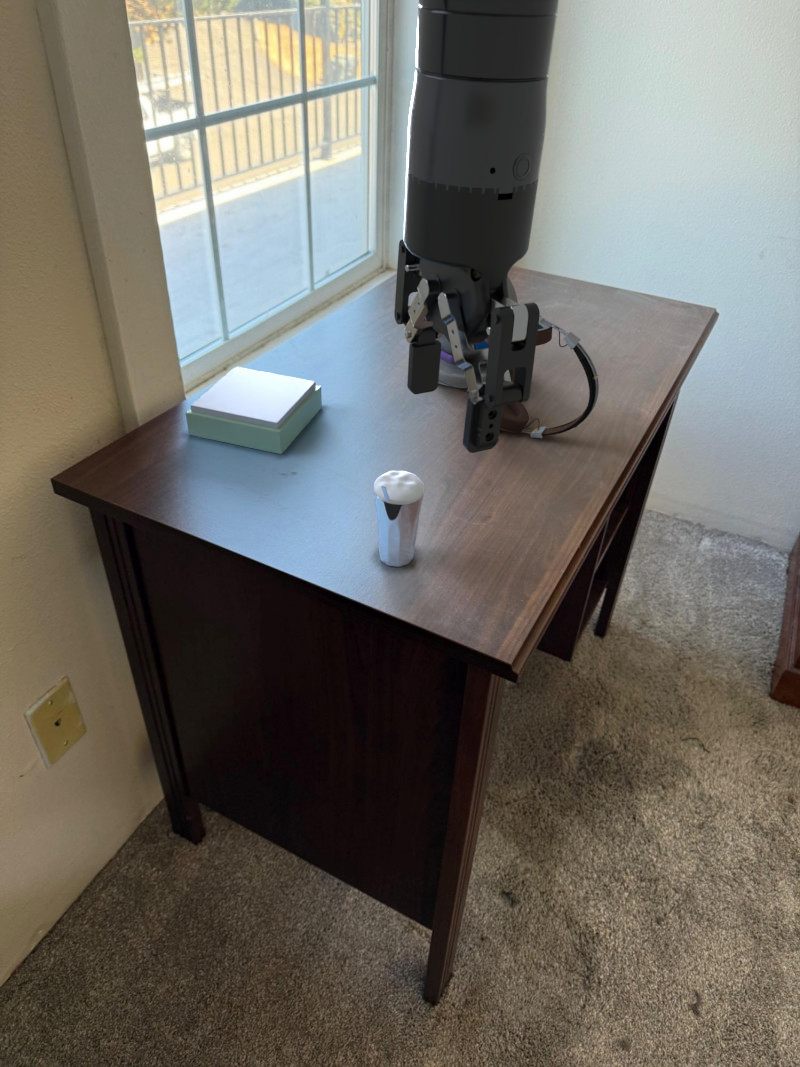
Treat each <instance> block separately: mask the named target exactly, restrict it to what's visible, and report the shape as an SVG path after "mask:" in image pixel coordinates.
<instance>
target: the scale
mask: <svg viewBox="0 0 800 1067" xmlns="http://www.w3.org/2000/svg"><path fill="white" fill-rule="evenodd" d="M322 400H323V398H322V386H321V385H317V383H316V380H311V379H305V378H301V377H300V378H299V377H295V376H289V375H284V374H279V373H273V372H267V371H262V370H257V369H252V368H247V367H242V366H234V367H233V368H231V370H230V371H228V372H227V373H226V374H225V375H224V376H222V377H221V378H219V380H218V381H217V382H216V383H214V384H213V385H212V386H211V387H210V388H209V389H207V391H205V392H204V393H203V394H201V395H200V396H199V397H198V398H197V399H196V400H195V401H193V403H191V404H190V408H189V409H188V410H186V411H185V418H186V424H187V433H188V435H189V436H194V437H198V438H203V439H207V440H211V441H212V440H213V441H217V442H221V443H225V444H226V443H227V444H230V445H237V446H241V447H245V448H249V449H255V450H257V451H258V450H259V451H263V452H267V453H268V452H269V453H272V454H277V455H282V454H283V453H284V452H285V451H286V450H287V448H288V447H289V446H290V445H291V444H292V443H293V441H294V440H295V439H296V438H297V437H298V436H299V435H300V433H301V432H302V431H303V430H304V429H305V427H306V426H307V425H308V424H309V423H310V422H311V421H312V419H313V418H314V417H315V416H316V415H317V414H318V413H319V411H320V410H321V409H322V408H323V403H322Z"/></svg>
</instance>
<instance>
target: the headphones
mask: <svg viewBox="0 0 800 1067" xmlns="http://www.w3.org/2000/svg"><path fill="white" fill-rule="evenodd" d="M553 329H554V330H556V331H557V332H558V345H559V347H560V348H565V347H567V346H568V347H569V349H570V350H571V351H572V350H573V352H574V353H575V355H576V357H577V358H578V361H579V362H580V365H581V366H582V369H583V371H584V372H585V377H586V379H587V383H588V394H589V395H588V402H587V405H586V407H585V409H584V411H583V412H582V413H581V415H579V416H578V417H576V418H575V419H573V420H571V421H569V422H566V423H564V424H561V425H557V426H553V427H549V428H548V426H544V425H543V426H541V424H540V419H539V418H534V419H533V420H532V421H531V422H529V421H530V420H531V419H530V418H531V417H530V413H529V412H528V409H527V408H526V406H525V405H524V403H523V402H521V403H514V404H509V405H503V411H502V418H501V425H500V431H504V432H509V433H520V432H521V433H525V434H529V435H530V438H533V439H534V438H536V439H543V437H547V436H555V435H558V434H559V435H560V434H563V433H566V432H569V431H571V430H573V429H577V428H578V426H579V425H580V424H582V423H583V422H584V421H585V420H586V419H587V418H588V417H589V416H590V415H591V413H592V411H594V409H595V407H596V404H597V401H598V398H599V393H600V392H599V390H600V384H599V375H598V372H597V369H596V366H595V364H594V362H593V360H592V359H591V356H590V354H589V353H588V352H587V350H586V349H585V348H584V347H583V345H582V344H580V342H581V338H580V337H578V336H577V335H575V334H574V333H573V332H572V331H569V332H567V331H566V330H565V329H563V328H561V327H560V326H558V325H557V324H555V323H553V322H551V321H549V320H547V319H546V318H545V317H543V316H542V315H540V317H539V325H538V333H537V341H536V347H539V346H541V345H545V344H548V343H550V341H551V340H552V339H553ZM561 334H562V335H563V336H564V338H563V341H564V342H565V343H566V344H565V345H561ZM489 338H490V336H488V338H487V339H486V340H485V342H486V343H487V344H489ZM439 381H440V380H439ZM441 382H442V381H441ZM485 382H486V381H485ZM442 383H444V382H442ZM445 384H446V383H445ZM447 385H448V384H447ZM448 387H451V385H449V386H448ZM451 388H455V389H457V390H460V391H462V392H465V393H467V394H469V392H468V391H465V390H464V389H462V388H458V387H453V386H452V387H451ZM536 420H537V421H538V427H535V428H534V429H533V430H530V429H527V428H528V427H529V426H530V425H531V424H533V423H534V422H535V421H536ZM528 423H529V424H528Z"/></svg>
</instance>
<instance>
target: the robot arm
mask: <svg viewBox="0 0 800 1067" xmlns="http://www.w3.org/2000/svg"><path fill="white" fill-rule="evenodd" d="M559 4H560V0H418V4H417V5H418V6H419V7H417V24H416V26H417V27H416V45H415V46H416V48H415V67H416V68H415V71H414V81H413V87H412V95H411V100H410V107H409V113H408V125H407V148H406V151H407V152H406V167H405V168H406V170H405V189H404V190H405V191H404V193H405V194H404V214H403V215H404V216H403V239H400V240H399V242H398V252H397V266H396V280H395V281H396V282H395V284H396V285H395V299H394V312H393V313H394V320H395V323H396V324H397V325H404V331H403V332H404V338H405V341H406V342H407V343H408V345H409V346H408V363H407V364H408V366H407V385H406V386H407V389H408V390H409V391H410V392H411V393H412V394H413V395H421V394H427V393H432V392H435V391H436V390H437V389H438V387H439V383H438V381H439V369H440V356H441V344H442V343H440V342H439V341H438V340H436V339H438V338H441V337H442V335H443V334H444V335H445V337H446V338H447V340H448V341H449V343H451V347H452V352H453V357H454V361H455V364H456V365H457V366H458V367H459V368H461V369H463V370H464V373H465V378H466V383H467V387H468V388H467V392H468V396H469V398H467V399H466V408H465V409H466V410H465V411H466V412H465V417H464V418H465V419H464V426H463V427H464V428H463V434H462V435H463V436H462V446H463V447H464V448H465V450H467V452H469V453H471V454H474V453H479V452H484V451H488V450H492V449H494V447H495V446H497V445H498V442H499V438H500V431H501V430H500V425H501V418H502V411H503V405H509V404H514V403H521V402H522V403H527V402H528V401H529V399H530V395H531V390H532V389H531V386H532V380H533V371H534V364H535V356H536V348H537V346H536V341H537V333H538V325H539V317H540V316H541V315H540V314H541V313H540V308H539V305H538V304H537V303H536V302H527V303H519V302H518V303H516V302H514V301H512V300H510V299H509V291H508V277H509V272H510V270H511V269H512V267H513V266H514V265H515V264H516V263H517V262H519V261H520V260H522V259H523V258H524V257H525V256H526V254H527V253H528V250H529V248H530V242H531V233H532V227H533V220H534V214H535V208H536V199H537V193H538V185H539V178H540V171H541V165H542V164H541V162H542V156H543V151H544V150H543V149H544V144H545V137H546V128H547V114H548V113H547V111H548V84H549V77H548V76H549V74H550V68H551V63H552V62H551V61H552V54H553V47H554V41H555V33H556V26H557V21H558V20H557V19H558V15H557V14H558V11H559ZM413 293H416V295H415V296H414V298H413V301H412V302H411V304H409V299H410V295H411V294H413ZM488 336H490V338H489V348H485V349H479V350H473V349H471V348H470V347H469V345H472V344H478V343H482V342H483V341H485V340H486V339H487V338H488ZM485 363H487V372H486V382H483V381H482V376H481V372H480V367H479V365H480V364H485ZM510 370H514V371H513V379H512V378H511V374H510ZM512 380H513V381H512Z"/></svg>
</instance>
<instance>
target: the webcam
mask: <svg viewBox="0 0 800 1067" xmlns="http://www.w3.org/2000/svg"><path fill="white" fill-rule="evenodd" d="M508 291H509V299H510V300H512V301H514V302H516V303H518V304H519V302H518V296H517V292H516V289H515V286H514V284H513V282H512V280H511V279H510V277H509V276H508ZM436 340H438V341H439V342H440V343H442V344H441V356H440V369H439V380H440V381H438V385H443V386H447V387H451V388H454V387H456V388H458V389H468V387H467V383H466V378H465V373H464V370H463V369H461V368H459V367H458V366H457V365H456V364H455V361H454V357H453V352H452V347H451V343H449V341H448V340H447V338H446V337H445V335H444V334H443V335H442V337H441V338H438V339H436ZM469 347H470V348H471V349H473V350H479V349H485V348H489V344H487V343H486V342H485V341H483V342H482V343H478V344H472V345H469ZM479 367H480V372H481V376H482V381H483V382H485V381H486V372H487V363H485V364H480V365H479ZM441 381H442V382H444V383H442V382H441ZM445 383H446V384H445ZM447 384H448V385H447ZM449 385H451V386H449ZM452 386H453V387H452Z"/></svg>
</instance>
